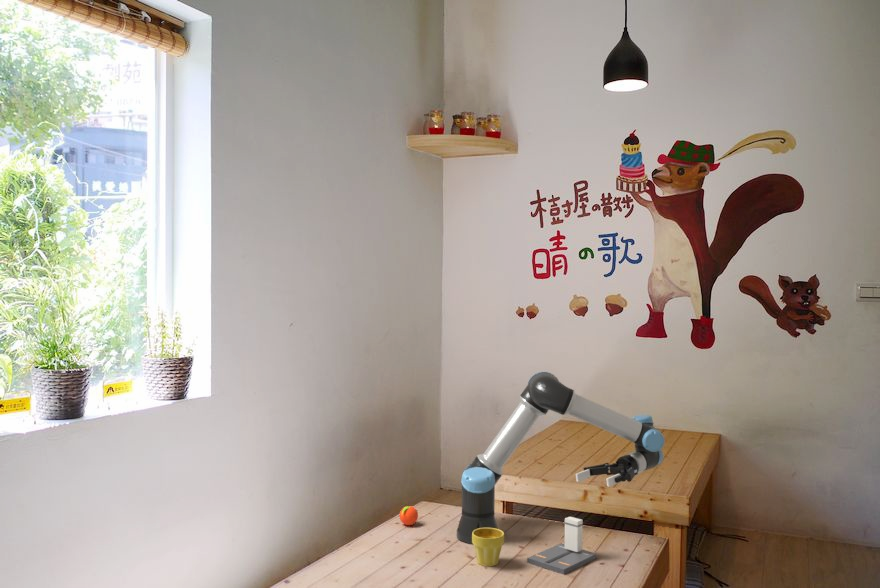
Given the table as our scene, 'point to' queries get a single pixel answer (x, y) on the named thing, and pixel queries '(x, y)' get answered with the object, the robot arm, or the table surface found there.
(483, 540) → the plant pot
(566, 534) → the cap
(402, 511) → the clementine
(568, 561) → the fader board
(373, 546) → the table surface
